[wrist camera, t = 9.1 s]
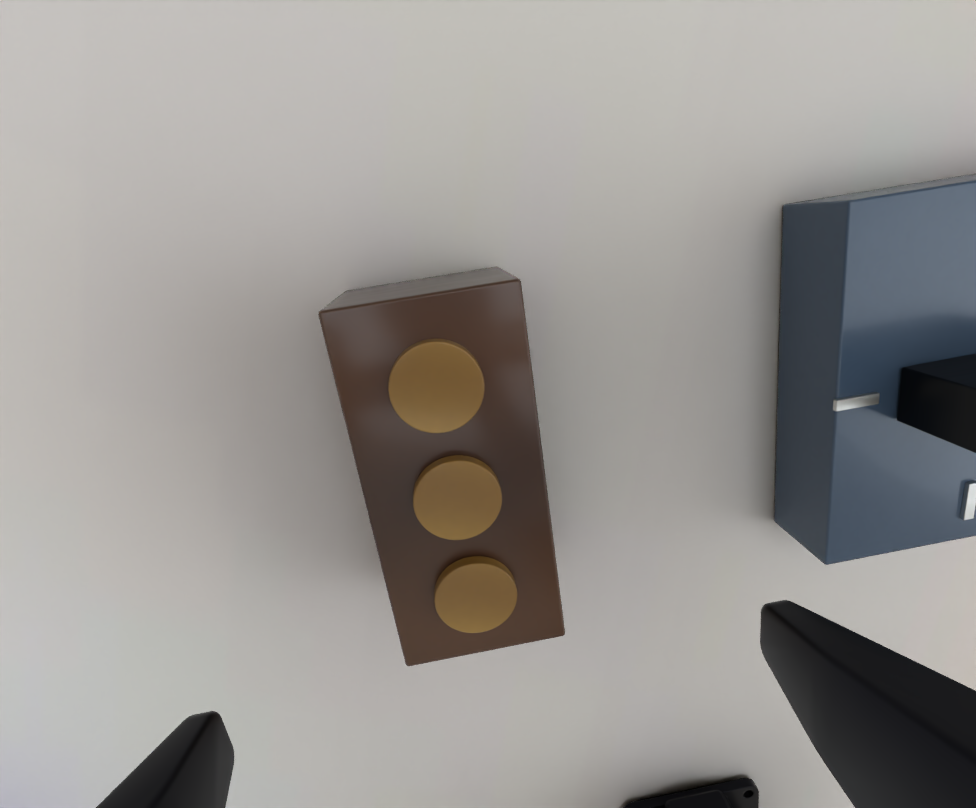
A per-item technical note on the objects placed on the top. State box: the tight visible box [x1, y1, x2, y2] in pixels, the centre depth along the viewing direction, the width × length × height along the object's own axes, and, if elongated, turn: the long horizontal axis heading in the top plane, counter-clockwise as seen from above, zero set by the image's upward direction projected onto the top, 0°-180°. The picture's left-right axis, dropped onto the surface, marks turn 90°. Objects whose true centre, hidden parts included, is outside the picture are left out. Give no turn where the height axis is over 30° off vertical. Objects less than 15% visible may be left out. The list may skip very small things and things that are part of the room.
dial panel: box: [774, 174, 976, 565], centre depth 18 cm, size 12×10×3 cm
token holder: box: [318, 267, 565, 666], centre depth 17 cm, size 11×5×5 cm, turn 8°
